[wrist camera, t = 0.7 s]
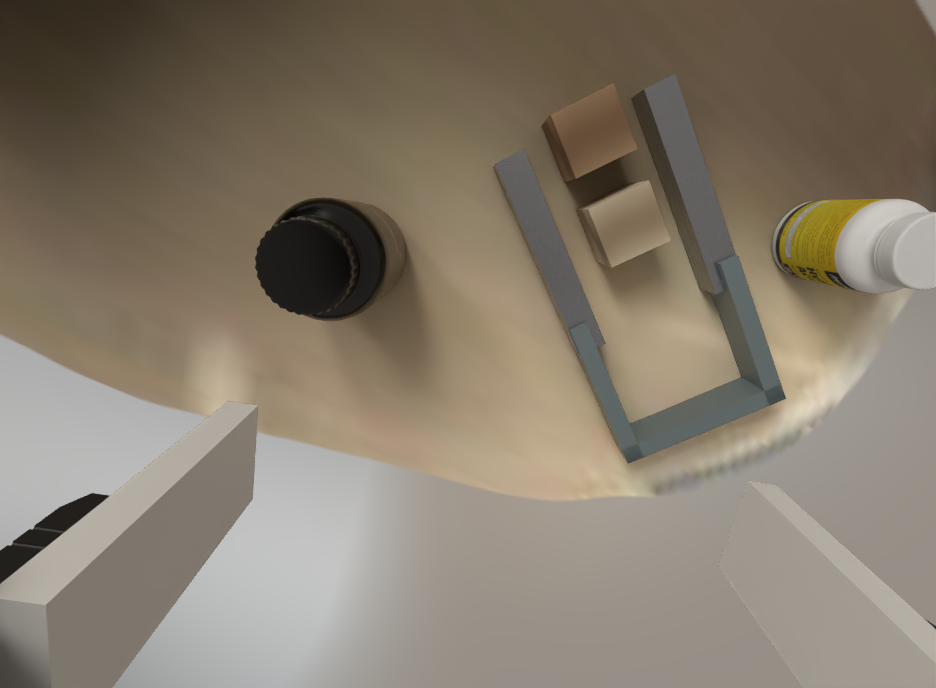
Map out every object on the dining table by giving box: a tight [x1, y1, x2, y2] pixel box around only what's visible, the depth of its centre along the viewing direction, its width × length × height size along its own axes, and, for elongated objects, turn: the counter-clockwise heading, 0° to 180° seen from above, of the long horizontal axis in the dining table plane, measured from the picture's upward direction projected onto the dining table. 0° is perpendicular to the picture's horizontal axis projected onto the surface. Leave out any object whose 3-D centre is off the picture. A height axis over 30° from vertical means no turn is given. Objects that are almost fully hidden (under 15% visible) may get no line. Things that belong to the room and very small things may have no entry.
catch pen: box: [570, 255, 786, 463], centre depth 36 cm, size 11×12×3 cm
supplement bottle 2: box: [772, 199, 936, 294], centre depth 30 cm, size 5×5×10 cm
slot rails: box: [494, 74, 736, 355], centre depth 34 cm, size 14×12×2 cm
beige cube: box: [576, 180, 671, 268], centre depth 33 cm, size 4×4×4 cm
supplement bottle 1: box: [255, 198, 406, 321], centre depth 30 cm, size 7×7×12 cm
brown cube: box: [542, 83, 638, 183], centre depth 32 cm, size 4×4×4 cm
